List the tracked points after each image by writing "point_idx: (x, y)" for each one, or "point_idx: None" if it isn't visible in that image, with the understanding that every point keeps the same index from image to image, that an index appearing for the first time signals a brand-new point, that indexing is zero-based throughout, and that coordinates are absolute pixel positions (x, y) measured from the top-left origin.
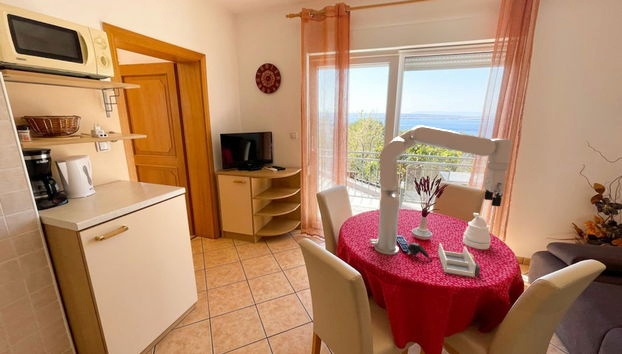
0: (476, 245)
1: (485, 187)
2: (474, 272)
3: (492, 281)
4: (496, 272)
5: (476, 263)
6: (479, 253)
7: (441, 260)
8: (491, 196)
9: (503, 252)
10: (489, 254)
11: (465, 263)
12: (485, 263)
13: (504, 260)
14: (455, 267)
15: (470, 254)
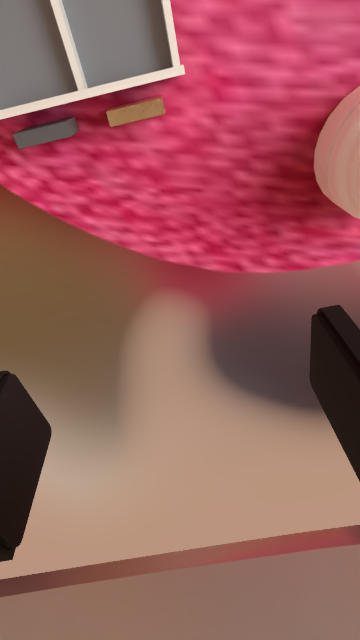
0: (323, 148)
1: (297, 595)
2: None
3: (25, 191)
4: (112, 212)
5: (54, 133)
6: (264, 158)
7: None
8: (334, 416)
9: (310, 253)
10: (270, 201)
11: (75, 78)
12: (170, 177)
13: (236, 249)
14: (22, 19)
15: (144, 107)
